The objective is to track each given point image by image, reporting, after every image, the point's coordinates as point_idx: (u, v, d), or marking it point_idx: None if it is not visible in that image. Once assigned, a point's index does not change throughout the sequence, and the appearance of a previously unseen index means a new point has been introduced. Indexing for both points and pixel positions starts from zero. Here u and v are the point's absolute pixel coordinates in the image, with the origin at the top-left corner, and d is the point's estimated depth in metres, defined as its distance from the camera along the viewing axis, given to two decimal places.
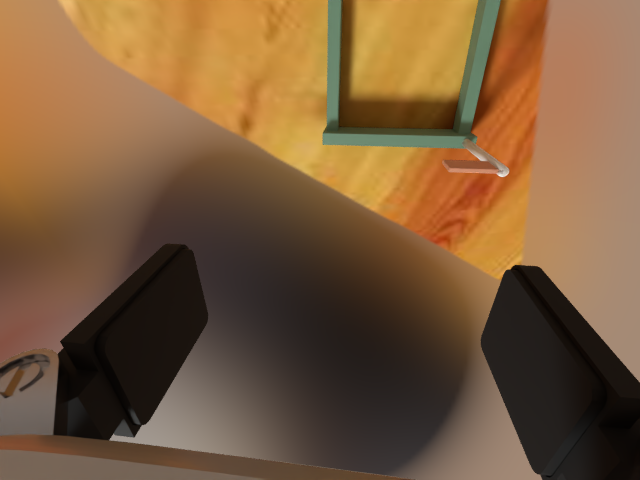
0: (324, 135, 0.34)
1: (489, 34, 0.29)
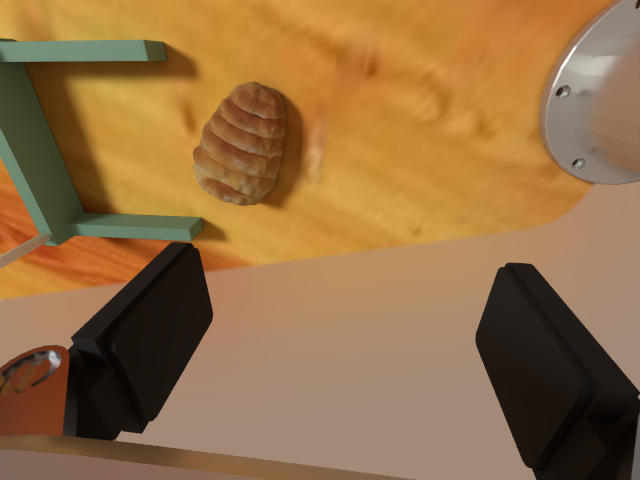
0: None
1: (158, 236, 0.28)
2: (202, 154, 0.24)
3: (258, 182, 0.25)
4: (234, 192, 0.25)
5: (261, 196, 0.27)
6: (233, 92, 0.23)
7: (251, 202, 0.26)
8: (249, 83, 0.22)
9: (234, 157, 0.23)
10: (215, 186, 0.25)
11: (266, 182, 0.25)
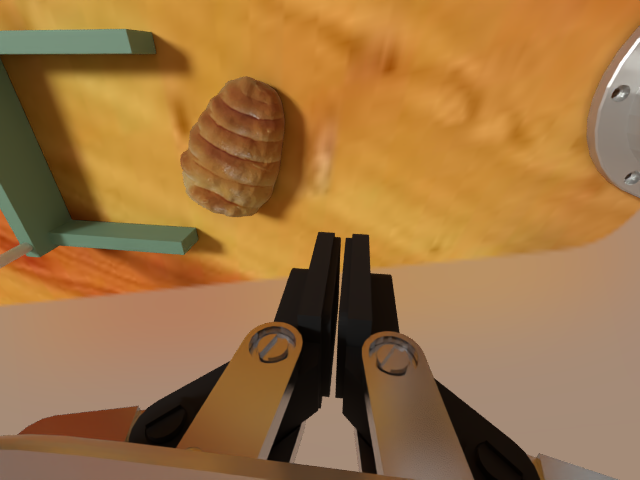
0: None
1: (148, 249, 0.26)
2: (189, 160, 0.21)
3: (252, 191, 0.22)
4: (226, 202, 0.22)
5: (257, 206, 0.24)
6: (223, 89, 0.20)
7: (246, 213, 0.23)
8: (241, 78, 0.19)
9: (225, 164, 0.20)
10: (204, 196, 0.22)
11: (262, 191, 0.22)
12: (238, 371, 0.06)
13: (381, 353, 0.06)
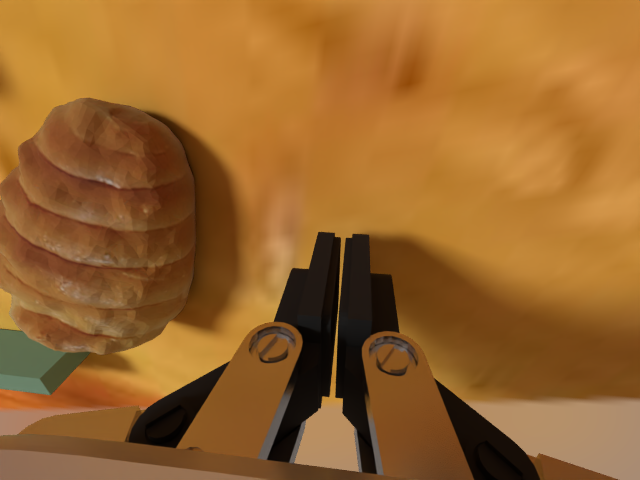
0: None
1: None
2: None
3: (133, 316, 0.11)
4: (86, 336, 0.11)
5: (159, 326, 0.13)
6: None
7: (133, 345, 0.12)
8: (75, 102, 0.09)
9: (60, 278, 0.10)
10: (40, 327, 0.11)
11: (158, 310, 0.12)
12: (238, 371, 0.06)
13: (381, 353, 0.06)
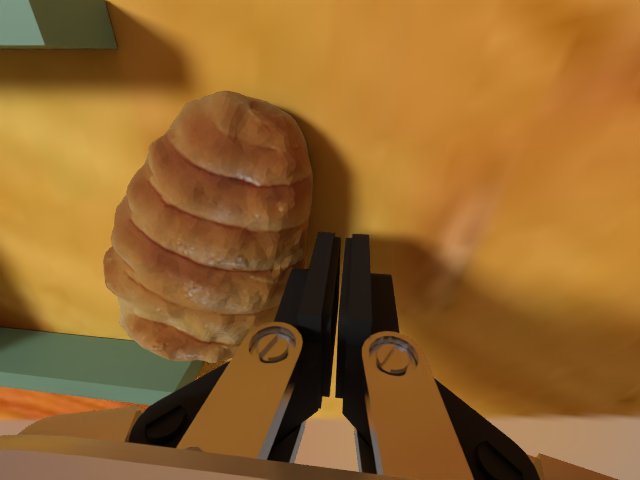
0: None
1: (115, 397, 0.15)
2: (118, 270, 0.10)
3: (252, 322, 0.11)
4: (200, 344, 0.11)
5: None
6: (176, 121, 0.09)
7: None
8: (214, 96, 0.08)
9: (190, 283, 0.09)
10: (155, 335, 0.11)
11: (272, 315, 0.11)
12: (238, 371, 0.06)
13: (381, 353, 0.06)
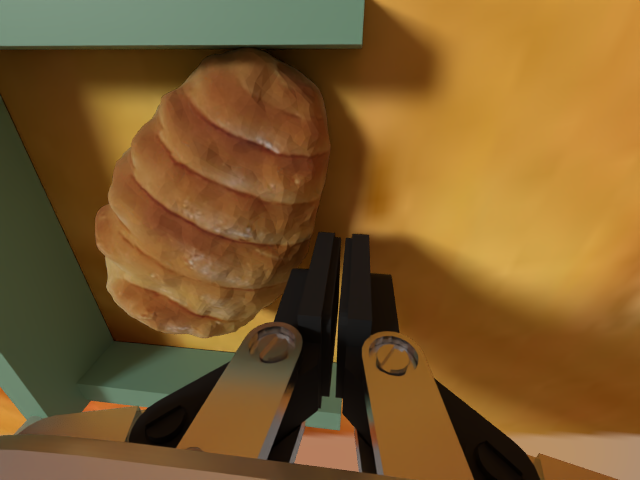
0: None
1: None
2: (111, 230, 0.09)
3: (251, 298, 0.10)
4: (193, 317, 0.10)
5: (257, 311, 0.12)
6: (195, 74, 0.08)
7: (234, 330, 0.11)
8: (241, 51, 0.08)
9: (192, 250, 0.09)
10: (146, 304, 0.10)
11: (271, 293, 0.11)
12: (238, 371, 0.06)
13: (381, 353, 0.06)
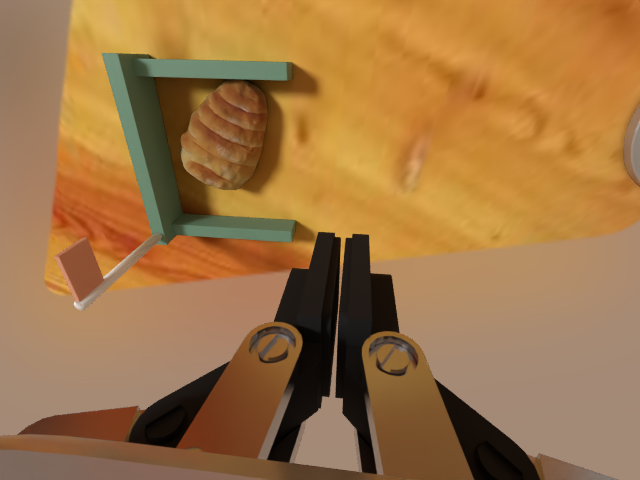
0: (115, 56, 0.23)
1: (260, 237, 0.31)
2: (189, 139, 0.26)
3: (238, 169, 0.27)
4: (216, 176, 0.27)
5: (241, 182, 0.29)
6: (221, 86, 0.25)
7: (231, 187, 0.28)
8: (235, 79, 0.25)
9: (218, 145, 0.26)
10: (199, 170, 0.27)
11: (246, 170, 0.28)
12: (238, 371, 0.06)
13: (381, 353, 0.06)
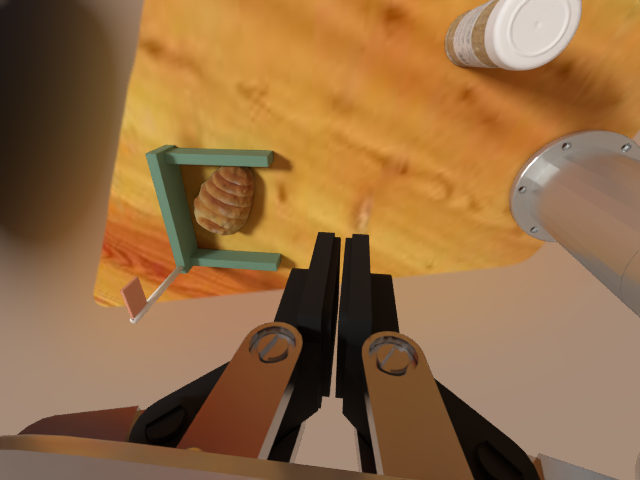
0: (154, 155, 0.34)
1: (254, 267, 0.42)
2: (199, 203, 0.38)
3: (234, 221, 0.39)
4: (219, 227, 0.39)
5: (237, 229, 0.41)
6: (220, 168, 0.37)
7: (230, 233, 0.40)
8: None
9: (219, 207, 0.37)
10: (207, 223, 0.39)
11: (240, 221, 0.39)
12: (238, 371, 0.06)
13: (381, 353, 0.06)
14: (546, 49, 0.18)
